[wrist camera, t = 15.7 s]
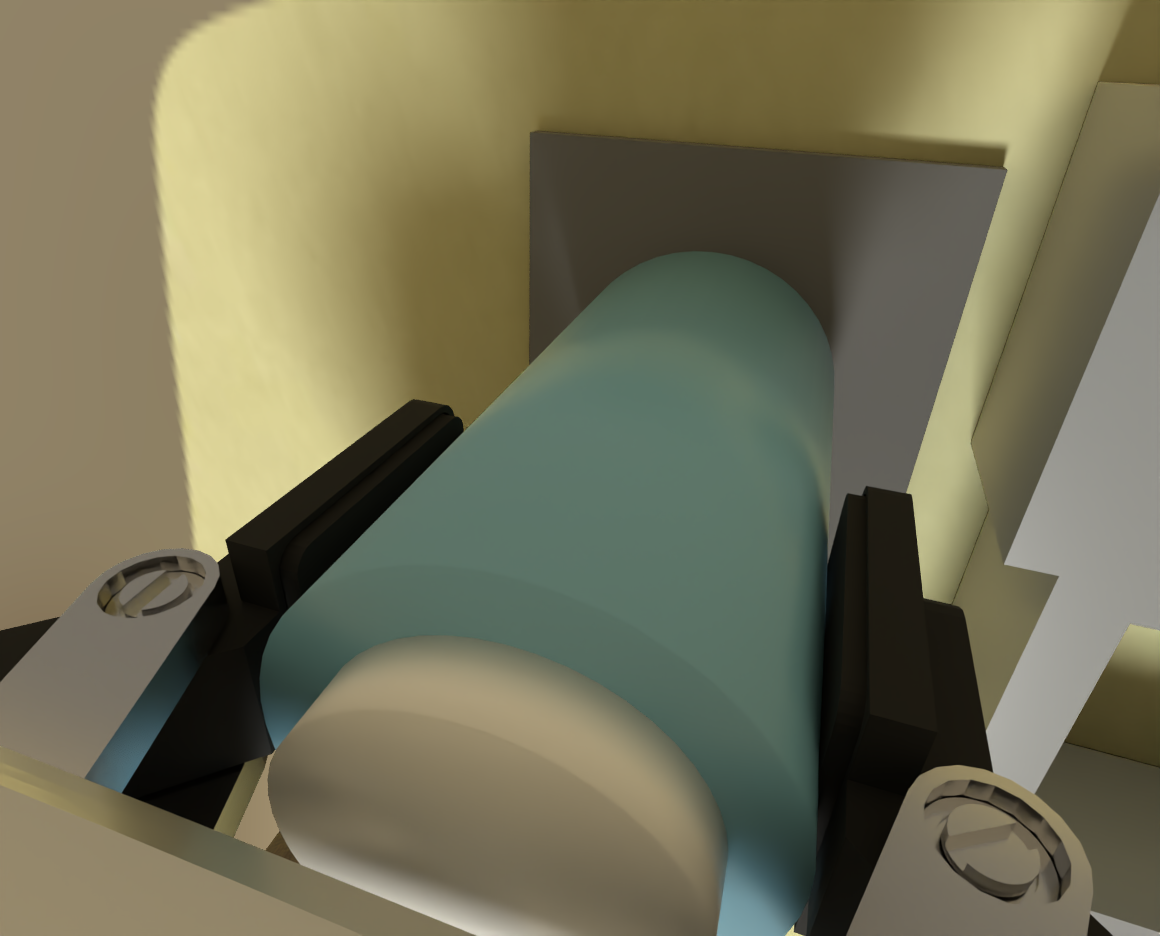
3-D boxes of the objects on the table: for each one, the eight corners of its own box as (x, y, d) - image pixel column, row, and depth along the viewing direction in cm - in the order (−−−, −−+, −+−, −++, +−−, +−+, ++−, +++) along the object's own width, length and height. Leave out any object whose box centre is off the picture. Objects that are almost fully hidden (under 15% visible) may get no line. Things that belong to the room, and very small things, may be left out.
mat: (1003, 167, 13) (1007, 169, 13) (879, 566, 17) (879, 575, 17) (537, 130, 15) (529, 132, 15) (534, 490, 20) (528, 497, 20)
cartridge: (863, 268, 13) (896, 767, 4) (805, 516, 16) (751, 1135, 7) (575, 237, 14) (121, 561, 5) (569, 471, 17) (265, 941, 8)
